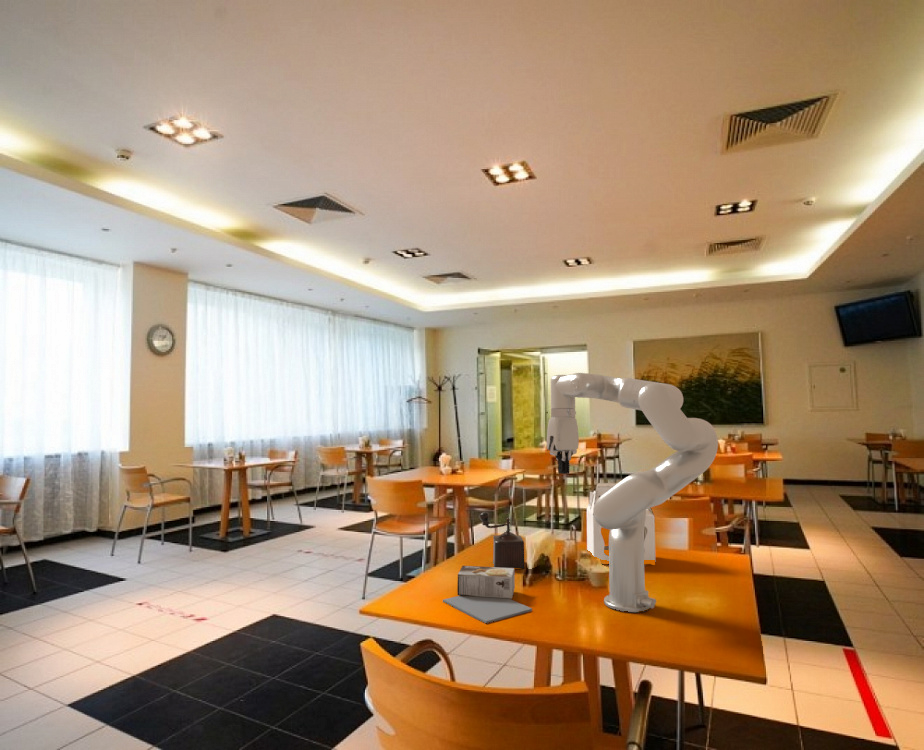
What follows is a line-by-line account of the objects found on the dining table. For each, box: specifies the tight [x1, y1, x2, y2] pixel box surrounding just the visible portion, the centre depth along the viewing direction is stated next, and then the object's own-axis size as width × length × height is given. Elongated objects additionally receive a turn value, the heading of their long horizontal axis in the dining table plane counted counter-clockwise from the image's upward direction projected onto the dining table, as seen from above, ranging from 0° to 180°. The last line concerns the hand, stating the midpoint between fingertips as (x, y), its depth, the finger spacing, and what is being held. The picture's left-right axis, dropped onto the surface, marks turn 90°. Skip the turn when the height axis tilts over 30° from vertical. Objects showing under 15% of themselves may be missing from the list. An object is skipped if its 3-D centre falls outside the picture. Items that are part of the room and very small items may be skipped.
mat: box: [442, 595, 533, 624], centre depth 152 cm, size 20×16×1 cm
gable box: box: [586, 482, 656, 561], centre depth 202 cm, size 22×13×28 cm, turn 87°
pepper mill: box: [478, 511, 525, 570], centre depth 195 cm, size 16×11×18 cm
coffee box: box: [456, 565, 516, 599], centre depth 163 cm, size 9×6×16 cm
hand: (563, 473), depth 170 cm, fingers closed
